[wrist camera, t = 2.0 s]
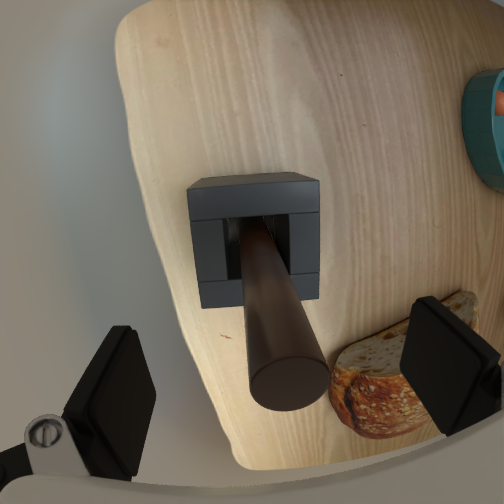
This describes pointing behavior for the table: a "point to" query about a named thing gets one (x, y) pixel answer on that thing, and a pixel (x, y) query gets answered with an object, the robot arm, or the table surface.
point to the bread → (385, 379)
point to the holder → (246, 205)
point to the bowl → (485, 127)
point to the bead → (499, 103)
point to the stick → (276, 327)
